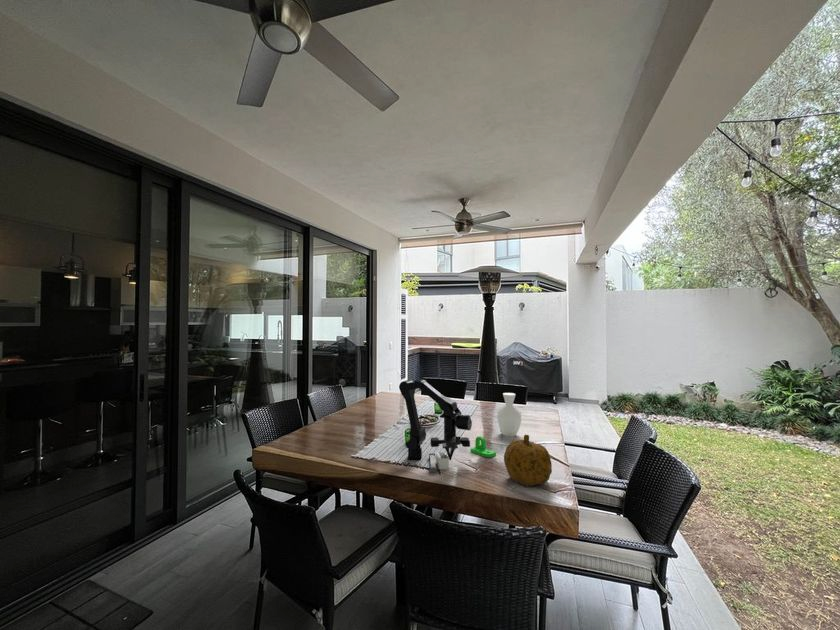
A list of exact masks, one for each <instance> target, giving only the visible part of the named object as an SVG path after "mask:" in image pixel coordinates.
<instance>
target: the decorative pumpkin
mask: <svg viewBox="0 0 840 630" xmlns="http://www.w3.org/2000/svg"><path fill="white" fill-rule="evenodd" d="M550 456H551V455H550V453H549V451H548V450H547V448H546V447H545V446H543V445H541V444H537V443H536V442H534V441H531V440H530V435H529V434H524V435H523V439H516V440H512V441H510V443H509V444H508V445H507V446H506V448H505V450H504V454H503V463H504V465H505V468H506V471H507V474H508V476H509V478H511V479H512V480H513V481H514V482H516V483H517V484H523V485H525V486H527V487H533V486H536V485H543V484H546V483H547V482H548V481H549V479H550V477H551V474H552V472H553V471H552V470H553V465H552V460H551V457H550Z"/></svg>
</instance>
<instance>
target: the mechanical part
mask: <svg viewBox="0 0 840 630" xmlns="http://www.w3.org/2000/svg"><path fill="white" fill-rule="evenodd" d="M474 445H475V446H474V447H471V448H470V452H471V453H474V454H476V455H479V456H482V457H484V458H493V457H495V456H497V452H496V451H493V450H490V449H487V442H486V439H485V437H484V436H482V435H479V436H477V437H475V444H474Z"/></svg>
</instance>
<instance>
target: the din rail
mask: <svg viewBox="0 0 840 630" xmlns="http://www.w3.org/2000/svg"><path fill="white" fill-rule="evenodd" d="M428 459H429V462H430V467H429V474H430V475H431V474H432V475H433V474H434V475H436V474H437V472H438V469H437V468H438V466H436V465H437V464H436V453H435V452H434V453H429V452H428Z"/></svg>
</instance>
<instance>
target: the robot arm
mask: <svg viewBox="0 0 840 630" xmlns="http://www.w3.org/2000/svg"><path fill="white" fill-rule="evenodd" d="M398 388H399V391H400V394H401V396H402V397H403V399H404V400H405V406H406V410H407V415H408V421H409V425H410V429H409V439H408V440H407V441H406V443H405V447H406V449H407V461H421V460H422V456H423V455H422V454H423V452H422V450H423V448H422V447H421V446H422V445H423V443H424V441H426V438H427V432H426V428H425V426H424V427H422V425H421V422H420V418H419V414H418V408H417V404H416V401H415V393H416V390H417V389H418V390H419V389H420V390H421V391H422V392H423V393H424V394H425V395H426V396H428V397H429V398H430V399H431V400H433V402H435V403H436V404H437V405H438V407H439V409H440V410H441V411H442V414H440V416H439V418H442V419H443V439H440V438H439V437H431V438H430V441H429V442H430V447H431V448H438V447H439V446H440V445H441V446H442V449H445V452H446V455H447V456H448V458H449V461H451V460H452V458H453V455H454V452H455V450H456V449H458V448H459V447H458V446H459V445H461V446H462V447H464V448H470V447H471V441H470V438H469V437H464V436H463V437H461V436H458V435H457V429H458V430H464V431H471V430H472V425H473V421H472V419H471V415H470V414H467V415H466V414H462V412H461V410H460V409H459V407H458V404H457V401H455V400H454V399H452V398H450V397H447V396H445V395H443V394H441V392H439V391H438V390H437V389H435V388H434V387H433V386H432V385H431V384H430V383H428V382H427V380H425V379H419V380H412V379H407V380H404V381H401V382H400V383H399V385H398Z"/></svg>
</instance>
